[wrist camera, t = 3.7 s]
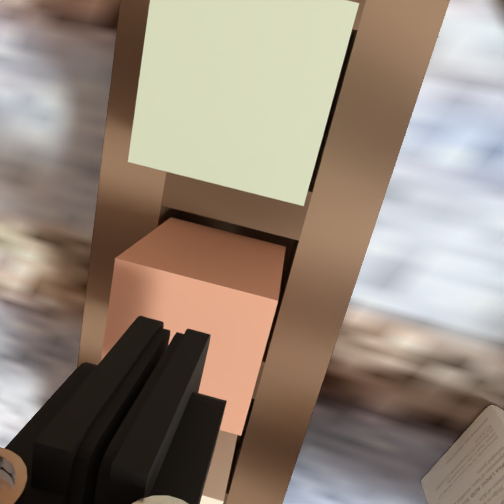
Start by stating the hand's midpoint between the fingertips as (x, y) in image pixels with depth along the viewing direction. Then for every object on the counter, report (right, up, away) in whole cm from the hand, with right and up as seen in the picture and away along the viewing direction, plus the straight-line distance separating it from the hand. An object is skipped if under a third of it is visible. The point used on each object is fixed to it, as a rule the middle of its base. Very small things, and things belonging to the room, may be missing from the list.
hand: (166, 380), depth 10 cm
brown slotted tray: (+1, +3, +10) cm, 10 cm away
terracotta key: (+1, +2, +7) cm, 7 cm away
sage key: (+2, +8, +5) cm, 10 cm away
